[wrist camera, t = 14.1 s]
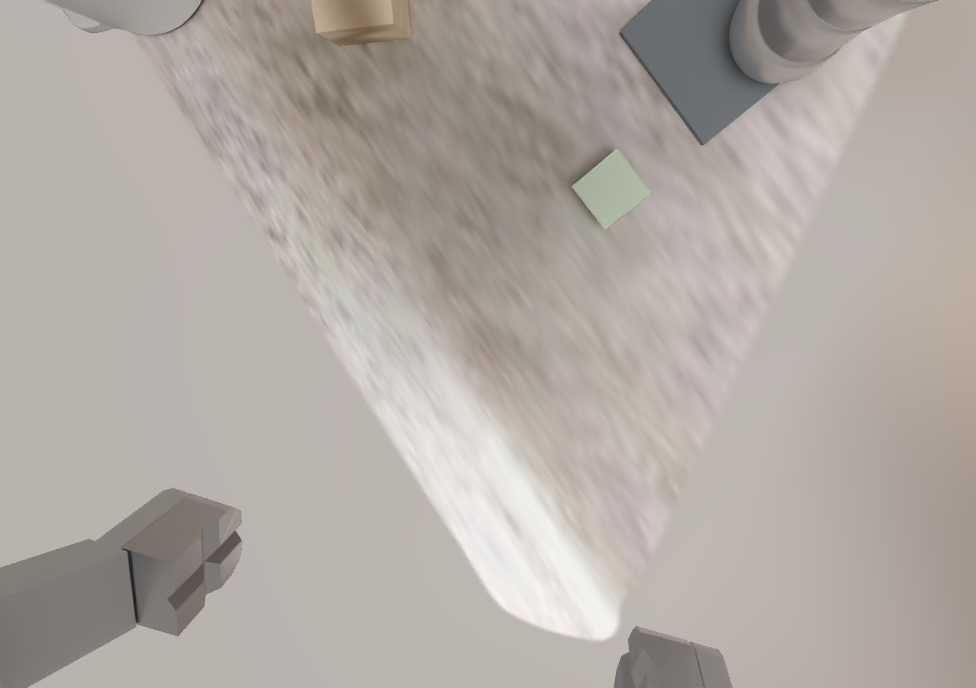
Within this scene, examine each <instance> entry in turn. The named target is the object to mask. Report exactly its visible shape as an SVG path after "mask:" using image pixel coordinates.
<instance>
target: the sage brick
mask: <svg viewBox="0 0 976 688" xmlns="http://www.w3.org/2000/svg"><path fill="white" fill-rule="evenodd" d="M572 188H573V189H574V190H575V192H576V193H577V194H578V196H579V197H580V198H581V199H582V201H583V202H584V203H585V205H586V206H587V207H588V209H589V210H590V211H591V213H592V214H593V215H594V216H595V218H596V219H597V220H598V222H599V223H600V224H601V226H602V227H603V228H604V230H605V229H606V228H607V227H609V226H610V225H611V224H613V223H614V222H615V221H616V220H618V219H619V218H620V217H622V216H623V215H624V214H625V213H627V212H628V211H629V210H631V209H632V208H633V207H634V206H636V205H637V204H638V203H640V202H641V201H642V200H643V199H645V198H646V197H647V196H649V195H650V194H651V192H650V191H649V190H648V188H647V187H646V185H645V184H644V183H643V181H642V180H641V179H640V177H639V176H638V175H637V173H636V172H635V170H634V169H633V168H632V166H631V165H630V164H629V162H628V161H627V160H626V158H625V157H624V156H623V154H622V153H621V151H620V150H619V149H618V148H617V149H615V150H614V151H613V152H612V153H611V154H609V155H608V156H607V157H606V158H605V159H604V160H602V161H601V162H600V163H599V164H598V165H596V166H595V167H594V168H593V169H592V170H590V171H589V172H588V173H587V174H586V175H585V176H583V177H582V178H581V179H580V180H579V181H577V182H576V183H575V184H574V185H573V186H572Z"/></svg>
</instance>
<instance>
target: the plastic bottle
mask: <svg viewBox="0 0 976 688" xmlns="http://www.w3.org/2000/svg"><path fill="white" fill-rule="evenodd" d="M934 1H937V0H740V2H739V4H738V6H737V8H736V10H735V13H734V15H733V17H732V21H731V25H730V33H729V41H730V49H731V52H732V55H733V58H734V60H735V62H736V63H737V65H738V67H739V68H740V69H741V70H742V71H743V72H744V73H745V74H746V75H748V76H749V77H750V78H752V79H754V80H757V81H759V82H763V83H769V84H770V83H782V82H787V81H792V80H796V79H800V78H802V77H804V76H806V75H809V74H810V73H812V72H813V71H815V70H816V69H818V68H819V67H820V66H822V65H823V64H824V63H825V62H827V61H828V60H829V59H830V58H831V57H832V56H833V55H834V54H835V53H836V52H837V51H838V50H839V49H840V48H841V47H842V46H843V45H845V44H846V43H848V42H849V41H850V40H852V39H853V38H854V37H856V36H857V35H859V34H860V33H861V32H863V31H864V30H866V29H868V28H870V27H872V26H874V25H876V24H878V23H880V22H882V21H885V20H887V19H889V18H891V17H893V16H895V15H897V14H900V13H903V12H905V11H908V10H911V9H914V8H917V7H920V6H922V5H925V4H928V3H931V2H934Z"/></svg>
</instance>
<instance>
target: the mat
mask: <svg viewBox="0 0 976 688" xmlns="http://www.w3.org/2000/svg"><path fill="white" fill-rule="evenodd" d="M739 2H740V0H652V1H651V2H650V3H649V4H648V5H647V6H646V7H645V8H644V9H643V10H642V11H641V12H640V13H639V14H638V15H637V16H636V17H635V18H634V19H633V20H632V21H630V22H629V23H628V24H627V25H626V26H625V27H624V28H623V29H622V30H621V32H620V35H621V36H622V38H623V39H624V40H625V42H626V43H627V44H628V46H629V47H630V48H631V50H632V51H633V52H634V54H635V55H636V57H637V58H638V59H639V61H640V62H641V63H642V65H643V66H644V67H645V69H646V70H647V71H648V73H649V74H650V76H651V77H652V78H653V80H654V81H655V82H656V84H657V85H658V86H659V88H660V89H661V90H662V92H663V93H664V95H665V96H666V97H667V99H668V100H669V101H670V103H671V104H672V105H673V107H674V108H675V109H676V111H677V112H678V114H679V115H680V116H681V118H682V119H683V120H684V122H685V123H686V124H687V126H688V127H689V128H690V130H691V131H692V133H693V134H694V135H695V137H696V138H697V139H698V141H699V142H700V143H701V145H704V144H705V143H707V142H708V141H709V140H710V139H711V138H713V137H714V136H715V135H716V134H718V133H719V132H720V131H721V130H723V129H724V128H725V127H726V126H728V125H729V124H730V123H731V122H732V121H734V120H735V119H736V118H737V117H739V116H740V115H741V114H742V113H744V112H745V111H746V110H747V109H749V108H750V107H751V106H752V105H753V104H755V103H756V102H757V101H758V100H760V99H761V98H762V97H763V96H765V95H766V94H767V93H768V92H769V91H771V90H772V89H773V88H774V87H776V86H777V85H778V84H779V83H770V84H769V83H763V82H759V81H757V80H754V79H752V78H750V77H749V76H748V75H746V74H745V73H744V72H743V71H742V70H741V69H740V68H739V67H738V65H737V63H736V62H735V60H734V58H733V55H732V52H731V49H730V41H729V33H730V25H731V21H732V17H733V15H734V13H735V10H736V8H737V6H738V4H739Z"/></svg>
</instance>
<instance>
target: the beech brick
mask: <svg viewBox="0 0 976 688" xmlns="http://www.w3.org/2000/svg"><path fill="white" fill-rule="evenodd" d="M311 4H312V11H313V18H314V25H315V32H316V33H317V34H319V35H320V36H322V37H324V38H326V39H328V40H330V41H332V42H333V43H335V44H337V45H339V46H346V45H355V44H364V43H372V42H381V41H390V40H399V39H407V38H411V27H410V16H409V4H408V0H311Z"/></svg>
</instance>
